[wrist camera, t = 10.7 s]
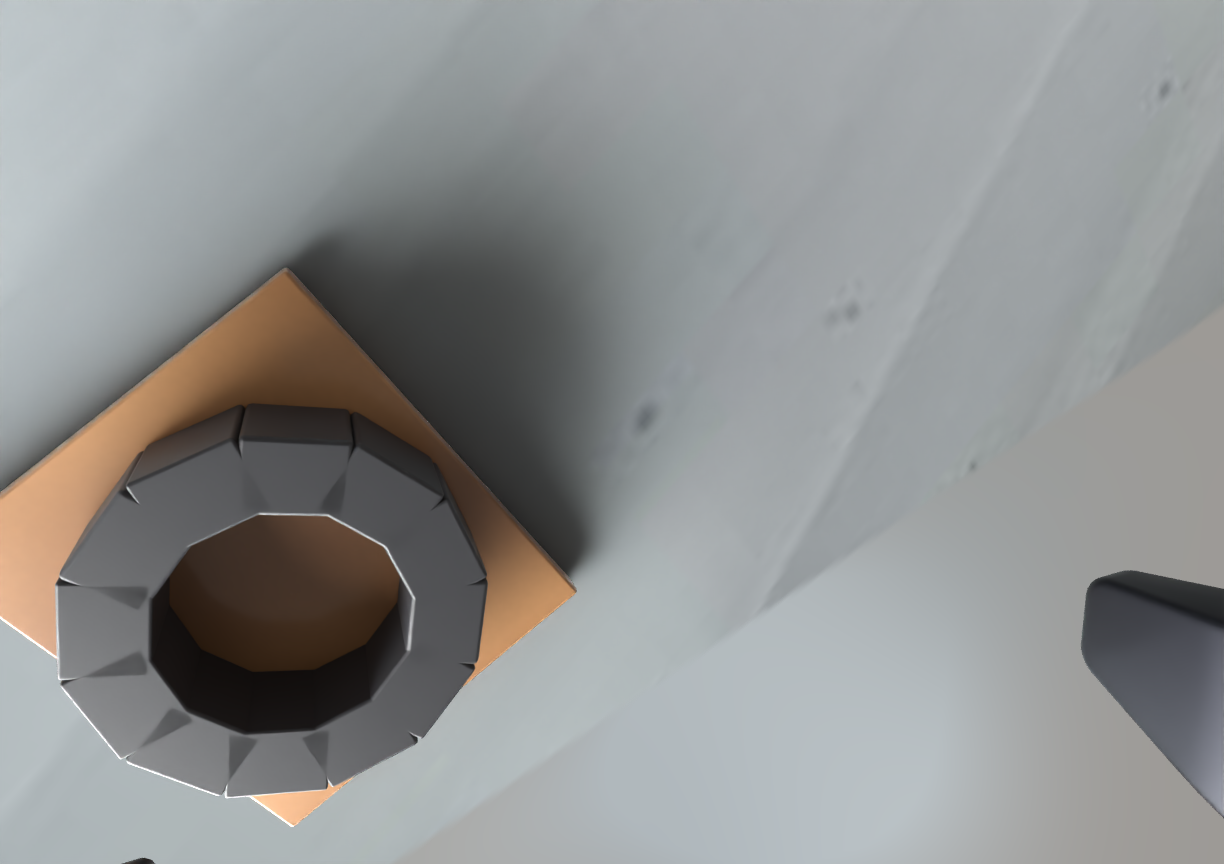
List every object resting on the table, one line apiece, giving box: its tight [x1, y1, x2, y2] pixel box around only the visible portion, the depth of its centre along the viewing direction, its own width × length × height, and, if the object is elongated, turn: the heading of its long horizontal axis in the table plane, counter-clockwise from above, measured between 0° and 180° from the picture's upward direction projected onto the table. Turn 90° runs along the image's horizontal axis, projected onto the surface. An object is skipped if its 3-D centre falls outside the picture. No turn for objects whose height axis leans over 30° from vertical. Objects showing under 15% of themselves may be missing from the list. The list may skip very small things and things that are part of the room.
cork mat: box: [0, 268, 577, 827], centre depth 17 cm, size 9×8×1 cm
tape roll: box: [55, 403, 488, 798], centre depth 16 cm, size 7×7×2 cm
